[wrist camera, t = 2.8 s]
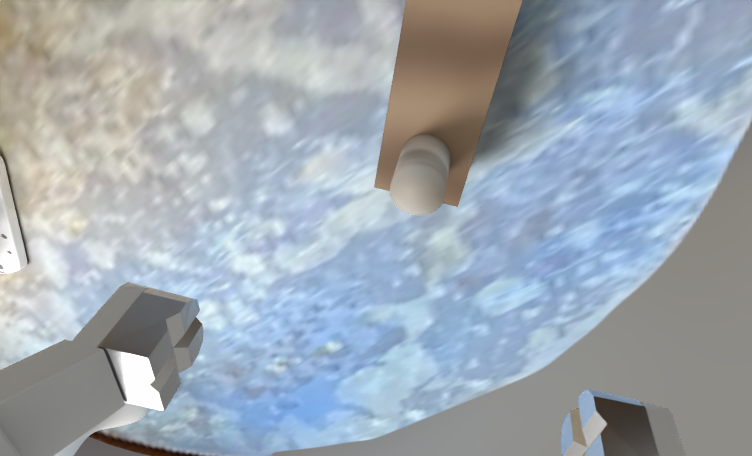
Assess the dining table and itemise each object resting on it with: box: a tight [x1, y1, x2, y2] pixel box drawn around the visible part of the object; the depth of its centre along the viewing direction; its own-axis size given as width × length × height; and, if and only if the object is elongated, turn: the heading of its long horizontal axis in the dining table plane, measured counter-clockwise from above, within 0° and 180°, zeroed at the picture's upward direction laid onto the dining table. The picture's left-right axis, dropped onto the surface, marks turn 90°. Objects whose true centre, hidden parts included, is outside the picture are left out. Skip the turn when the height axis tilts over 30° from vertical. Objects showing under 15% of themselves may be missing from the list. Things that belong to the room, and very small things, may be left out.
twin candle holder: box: [374, 0, 522, 215], centre depth 26 cm, size 18×6×9 cm, turn 171°
